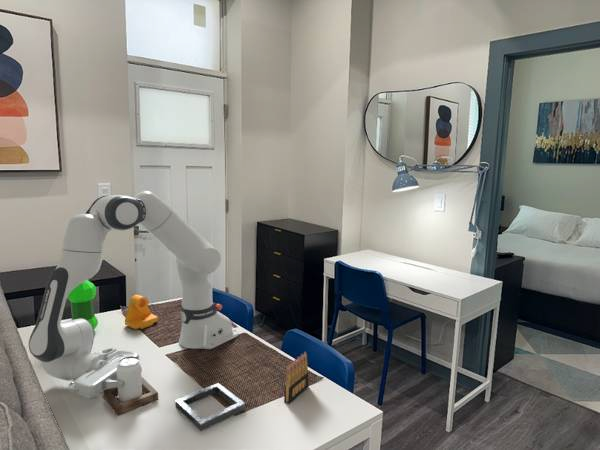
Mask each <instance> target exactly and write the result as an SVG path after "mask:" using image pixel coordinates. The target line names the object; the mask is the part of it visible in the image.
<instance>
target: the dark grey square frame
mask: <svg viewBox="0 0 600 450" xmlns="http://www.w3.org/2000/svg"><path fill="white" fill-rule="evenodd" d="M214 393H215V394H218V395H219V396H220V397H221V398H223V399H224V400H226V402H228V403H229V404H230V405H229V406H228V407H226V408H223V409H222V410H221V409H220V411H217V412H214V413H213V414H211V415H209V416H207V417H205V418H202V417H201V416H200V415H199V414H198V413H197V412H196V411H194V409H192V408H191V406H189V405H191V404H194V403H196V402H198V401H200V400H203V399H205V398H207V397H210V396H212V395H215V394H214ZM175 408H176V409H178V411H179V412H180V413H181V414H182V415H184V417H185V418H187V419H188V421H189V422H191V423H192V425H193V426H195V427H196V428H197V429H198V430H199V431H200V432H203V431H204V430H206V429H208V428H211V427H212V426H215V425H216V424H218V423H220V422H223V421H225V420H227V419H229V418H231V417H233V416H235V415H237V414H239V413H240V412H243V411H245V410H246V402H244V401H243V400H241V399H240V398H239V397H237V395H235V394H234V393H232V392H231V391H230V390H229V389H227V388H226V387H224V386H223V385H222V384H220V382H217V383H214V384H211V385H210V386H207V387H204V388H202V389H199V390H197V391H194V392H192V393H189V394H188V395H185V396H183V397H180V398H178V399H176V400H175Z"/></svg>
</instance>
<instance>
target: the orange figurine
mask: <svg viewBox="0 0 600 450" xmlns="http://www.w3.org/2000/svg"><path fill="white" fill-rule="evenodd" d="M148 305H149V299H148V298H147V297H145V296H143V295H140V294H134V295H133V296H132V297H131V298H130V301H129V303H128V306H127V307H128V308H127V311H126V315H125V318H124V325H125V326H127V327H129V328H132V329H134V330H137V329H140V330H143V329H145V328H148V327H150V326H153V325H154V323H156V322H159V321H158V317H159V316H158V315H155V314H153V313H152V312H151V310H150V308H149V307H150V306H148Z"/></svg>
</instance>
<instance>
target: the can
mask: <svg viewBox="0 0 600 450" xmlns="http://www.w3.org/2000/svg"><path fill="white" fill-rule="evenodd" d="M141 370H142V365H141V362H140V358H139V359H138V358H137V357H134V356H129V357H125V358H122V359H120V360H119V361H118V365H117V380H119V379H120V380H123V381H124V386H123V387H122V388H118V396H117V397H118V398H117V400H118V401H119V402H120V403H124V402H126V401H129V400H132V399H134V398H137V397H139V396H142V395H143V391H142V378H141V376H142V372H141Z"/></svg>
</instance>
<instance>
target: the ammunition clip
mask: <svg viewBox="0 0 600 450" xmlns="http://www.w3.org/2000/svg"><path fill="white" fill-rule="evenodd" d="M308 365H309V364H308V355H307V352H306V351H304V352H303V353H301V355H300V356H297V358H295V359H294V361H293V360H292V361H291V362H290V363H288V364H287V366H286V367H287V368H286V376H285V385H284V392H283V393H284V395H283V396H284V399H283V400H284V401H283V402H284V403H286V404H292V403H293V402H294V401H295V400H296V399H297V398H298V397H299V396H300V395H302V394H303V393H304V392H305V391H306V390H308V388H309V372H308V369H309V368H308Z"/></svg>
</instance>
